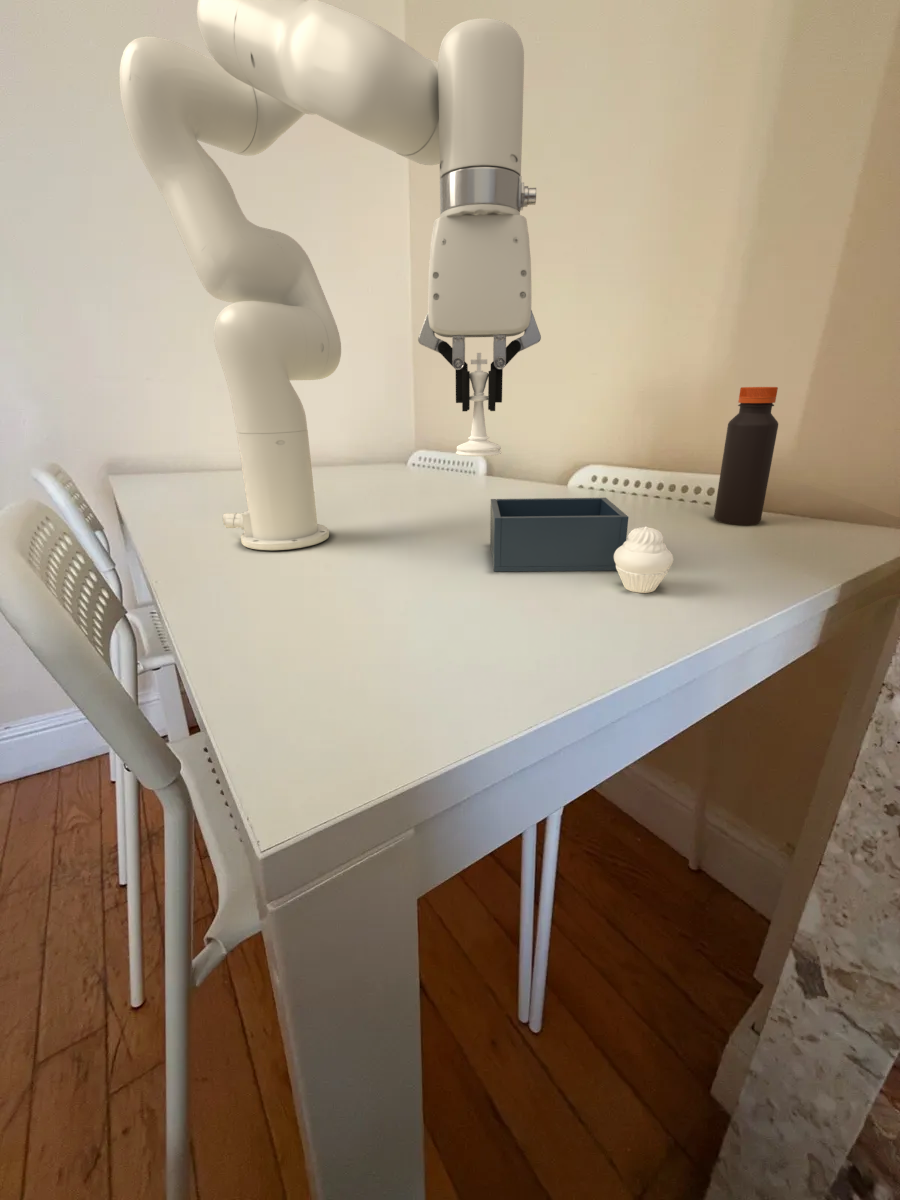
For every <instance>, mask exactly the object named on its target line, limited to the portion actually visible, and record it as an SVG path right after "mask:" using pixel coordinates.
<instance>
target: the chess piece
mask: <svg viewBox="0 0 900 1200" xmlns="http://www.w3.org/2000/svg"><path fill="white" fill-rule="evenodd" d="M470 365H476V370H474V371H472V372H471V371H470V374H469V377H470V383H471V387H472V391H473V395H470V397H469V400H470V401H472V402H473V414H472V422H471V428H470V430H471V431H470V436H468V437H467V439H468V440H467V441H466V442H463V443H460V444H458V445H457V446H456V449H455V450H456V451H455V454H456V455H458V456H464V457H492V456H498V455H501V454H502V451H501V445H499V444H497V443H495V442H492V441H490V440H489V439H490V436H488V434H487V429H486V419H485V410H484V409H485V408H484V401H488V395H485V393H484V392H485V390H486V389H485V388H486V386H487V383H488V376H489V374H488V373H489V372H487V371H484V370H482V365H488V359H487V358H485V359H482V352H476V359H470Z"/></svg>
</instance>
